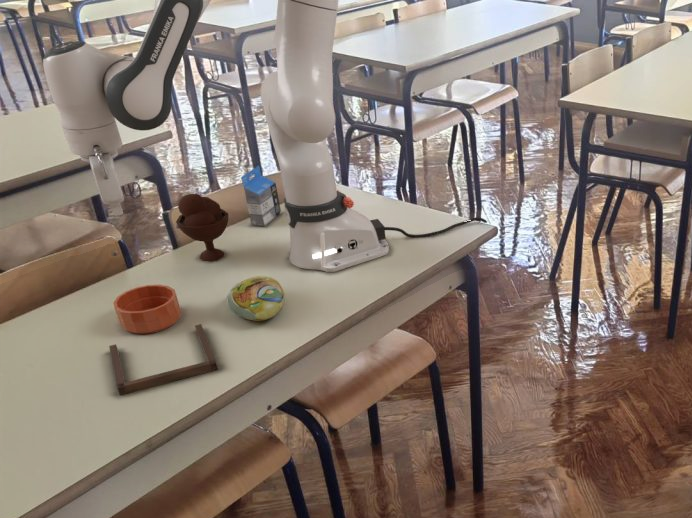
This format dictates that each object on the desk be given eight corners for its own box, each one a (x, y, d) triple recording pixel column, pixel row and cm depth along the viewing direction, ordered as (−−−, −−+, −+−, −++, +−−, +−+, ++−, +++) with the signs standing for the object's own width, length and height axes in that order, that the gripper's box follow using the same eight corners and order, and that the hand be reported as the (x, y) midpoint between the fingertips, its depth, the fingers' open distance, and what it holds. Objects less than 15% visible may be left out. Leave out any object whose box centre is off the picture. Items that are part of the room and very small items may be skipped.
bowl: (177, 301, 156) (170, 279, 153) (186, 326, 148) (179, 303, 145) (118, 314, 152) (111, 292, 149) (124, 340, 144) (116, 318, 141)
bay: (203, 330, 147) (201, 323, 146) (218, 369, 136) (216, 362, 135) (111, 353, 141) (108, 345, 140) (119, 395, 130) (117, 388, 129)
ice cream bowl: (223, 268, 168) (206, 204, 160) (177, 264, 170) (159, 200, 162) (245, 248, 177) (231, 186, 168) (202, 244, 179) (186, 183, 170)
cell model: (286, 277, 159) (284, 284, 145) (284, 314, 161) (281, 324, 147) (232, 272, 157) (224, 278, 142) (230, 309, 158) (222, 319, 144)
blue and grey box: (265, 227, 187) (255, 178, 179) (250, 225, 187) (240, 177, 180) (282, 213, 194) (273, 166, 186) (268, 212, 194) (258, 164, 187)
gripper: (118, 152, 133) (141, 226, 141) (107, 121, 147) (128, 190, 155) (78, 158, 130) (104, 233, 138) (71, 126, 145) (95, 195, 153)
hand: (117, 210), depth 147 cm, fingers open, 3 cm apart
